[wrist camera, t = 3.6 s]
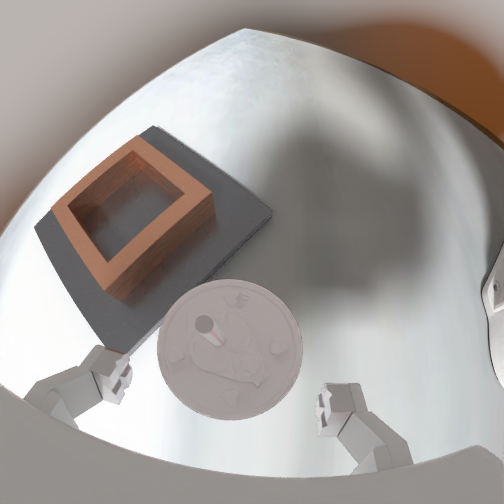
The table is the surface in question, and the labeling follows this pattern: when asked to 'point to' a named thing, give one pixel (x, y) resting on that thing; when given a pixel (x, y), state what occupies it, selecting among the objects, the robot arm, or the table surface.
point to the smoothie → (229, 349)
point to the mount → (145, 234)
